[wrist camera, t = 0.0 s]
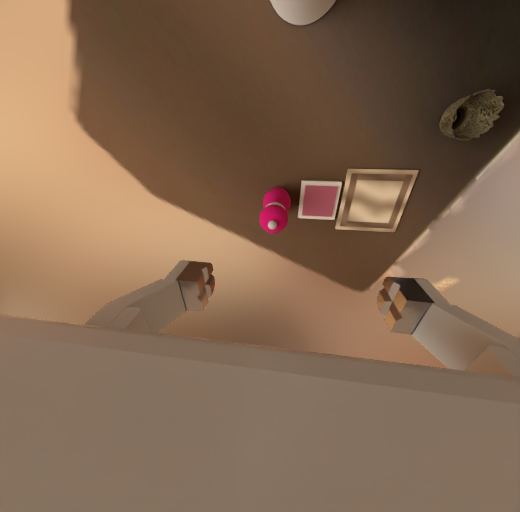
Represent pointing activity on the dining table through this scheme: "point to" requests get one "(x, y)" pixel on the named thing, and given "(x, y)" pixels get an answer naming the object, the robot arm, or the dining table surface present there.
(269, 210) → the pepper mill
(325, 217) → the ink pad
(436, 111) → the dining table surface
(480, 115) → the cup
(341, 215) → the board
